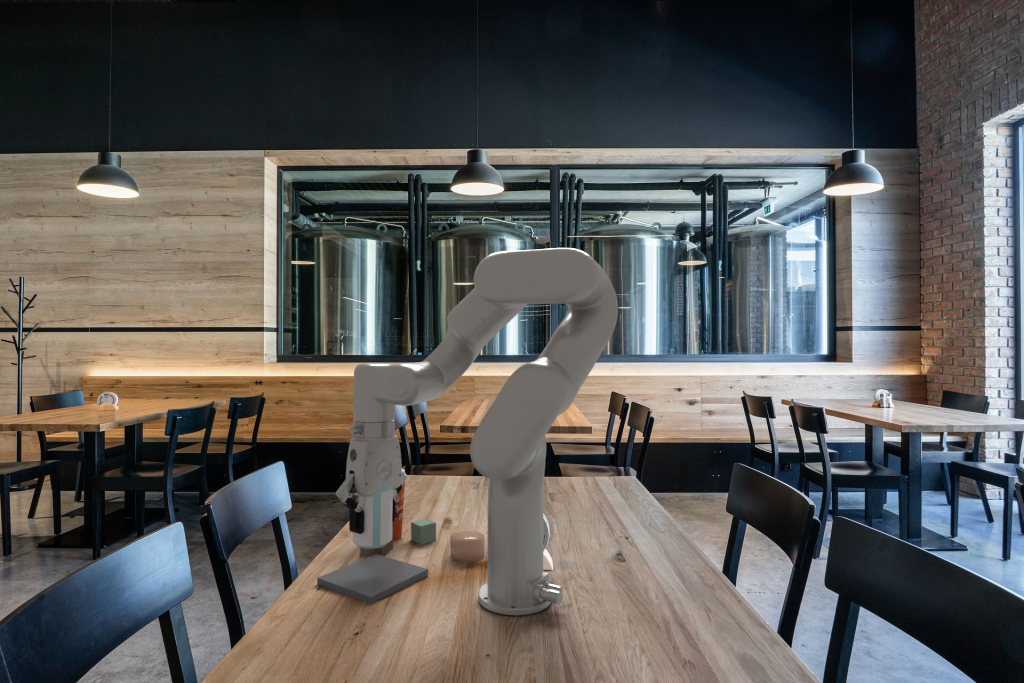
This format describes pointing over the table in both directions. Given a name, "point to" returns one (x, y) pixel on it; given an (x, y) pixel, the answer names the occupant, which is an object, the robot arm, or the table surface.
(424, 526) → the green block
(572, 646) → the table surface
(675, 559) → the table surface
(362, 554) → the walnut block
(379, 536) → the can
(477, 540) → the peach smooth rounded part
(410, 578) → the slate board
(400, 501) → the coffee cup
